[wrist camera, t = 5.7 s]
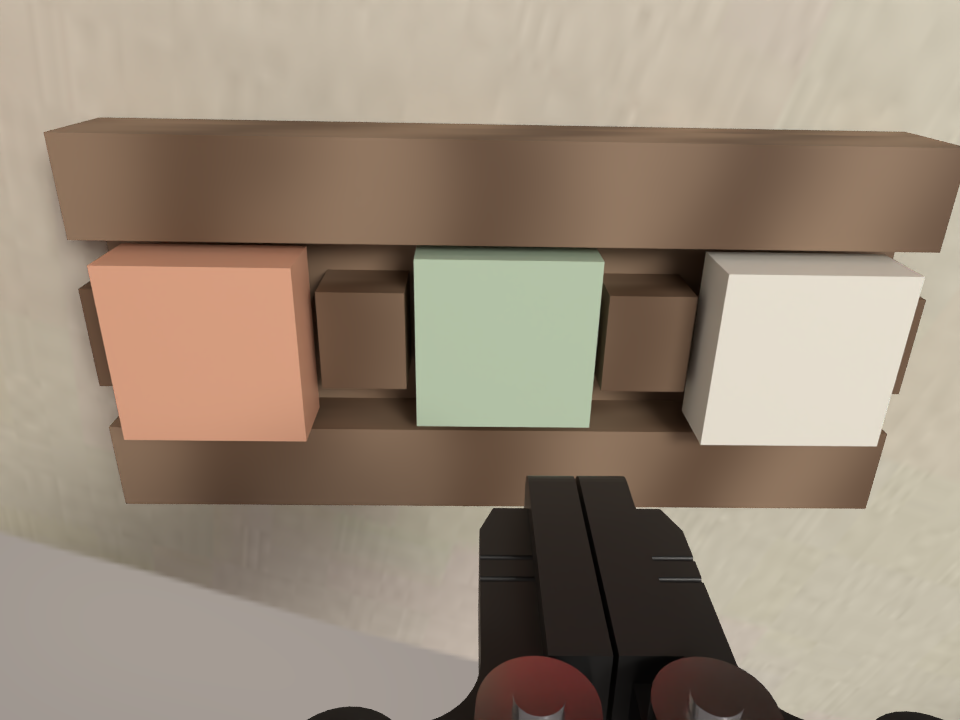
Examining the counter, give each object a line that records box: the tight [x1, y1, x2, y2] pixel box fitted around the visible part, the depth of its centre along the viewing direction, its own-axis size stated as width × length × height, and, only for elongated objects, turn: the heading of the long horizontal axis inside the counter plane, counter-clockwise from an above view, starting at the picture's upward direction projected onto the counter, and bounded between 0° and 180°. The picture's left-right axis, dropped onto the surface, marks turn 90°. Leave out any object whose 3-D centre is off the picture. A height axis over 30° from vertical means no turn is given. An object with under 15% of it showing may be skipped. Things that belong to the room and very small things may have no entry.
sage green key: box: [414, 245, 605, 428], centre depth 21 cm, size 5×5×2 cm
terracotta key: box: [87, 243, 320, 441], centre depth 20 cm, size 5×5×2 cm
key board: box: [44, 118, 960, 509], centre depth 22 cm, size 23×11×3 cm, turn 89°
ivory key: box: [682, 252, 925, 446], centre depth 21 cm, size 5×5×2 cm
